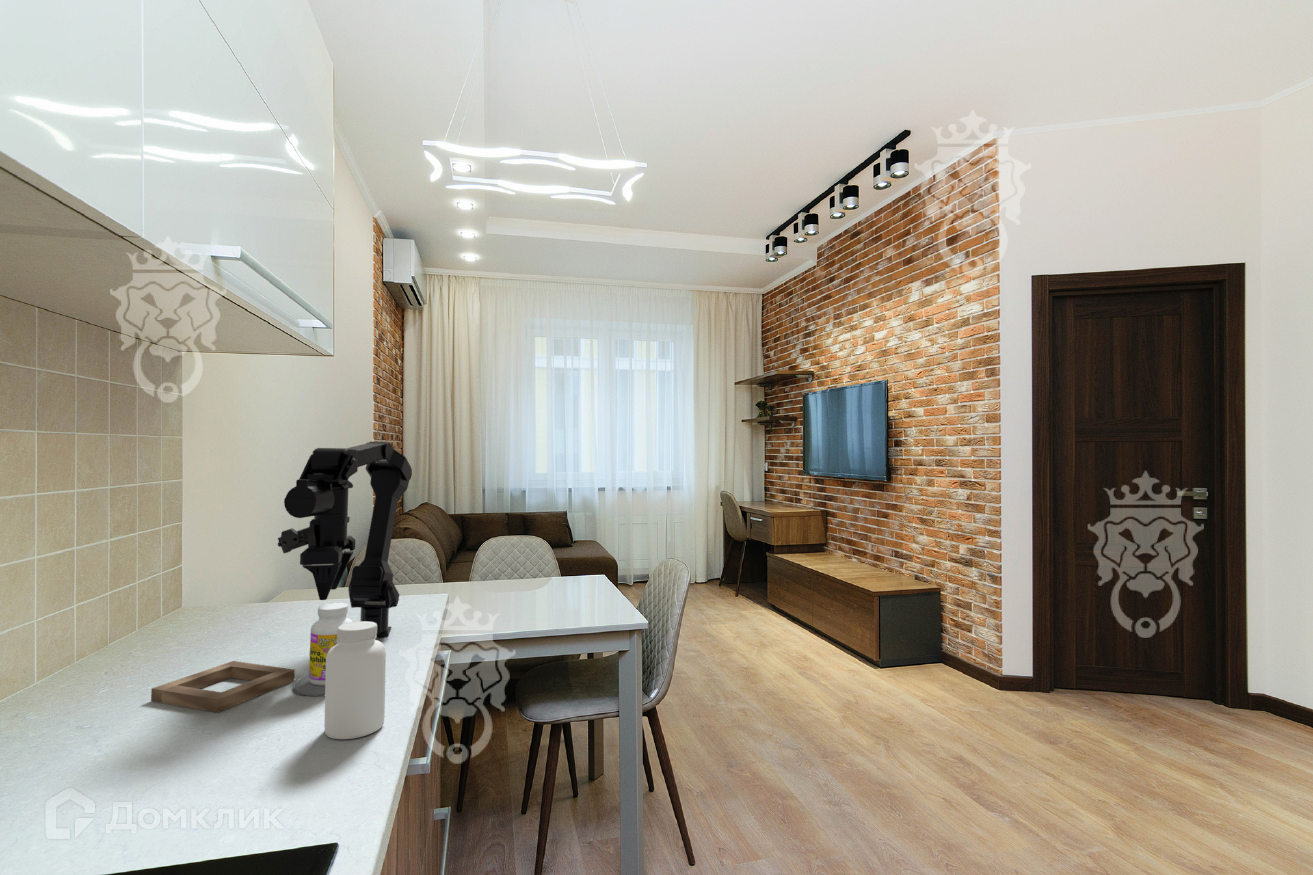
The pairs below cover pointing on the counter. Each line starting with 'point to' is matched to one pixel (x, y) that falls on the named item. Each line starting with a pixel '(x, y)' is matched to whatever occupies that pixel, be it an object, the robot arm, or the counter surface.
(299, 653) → the counter surface
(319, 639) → the supplement bottle
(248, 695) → the pocket block
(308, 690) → the coaster
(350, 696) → the pill bottle
